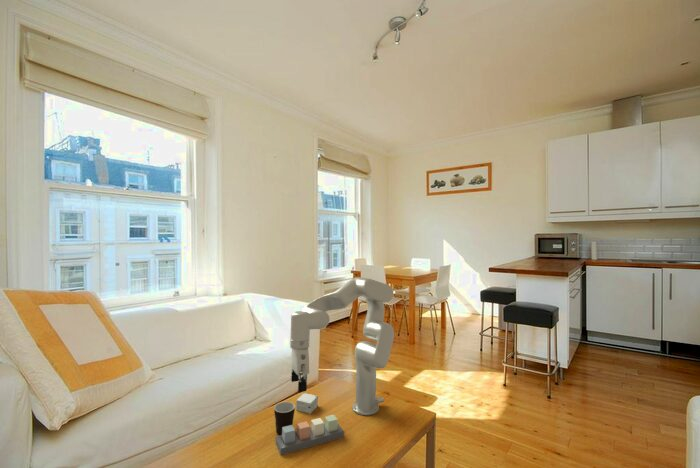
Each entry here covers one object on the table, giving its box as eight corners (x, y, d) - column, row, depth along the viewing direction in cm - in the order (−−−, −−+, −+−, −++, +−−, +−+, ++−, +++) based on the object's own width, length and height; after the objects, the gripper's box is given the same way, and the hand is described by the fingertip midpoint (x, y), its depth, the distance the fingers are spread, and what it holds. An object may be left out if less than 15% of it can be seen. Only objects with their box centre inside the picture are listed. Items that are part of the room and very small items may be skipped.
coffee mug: (289, 438, 129) (290, 413, 130) (269, 435, 131) (270, 410, 131) (300, 422, 141) (300, 399, 141) (281, 420, 142) (282, 397, 143)
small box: (295, 410, 151) (295, 399, 151) (303, 403, 158) (304, 392, 158) (310, 414, 148) (310, 403, 148) (318, 406, 155) (318, 395, 155)
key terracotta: (306, 432, 130) (306, 421, 130) (309, 437, 127) (309, 426, 127) (296, 434, 128) (297, 423, 128) (299, 440, 125) (300, 428, 125)
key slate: (291, 436, 127) (292, 424, 127) (294, 442, 124) (295, 430, 124) (281, 438, 126) (282, 427, 126) (284, 444, 122) (284, 432, 122)
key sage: (333, 425, 136) (333, 414, 136) (337, 430, 132) (337, 419, 132) (324, 427, 134) (324, 416, 134) (328, 432, 130) (328, 421, 130)
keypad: (335, 426, 138) (335, 420, 138) (343, 437, 131) (343, 431, 131) (275, 442, 126) (275, 436, 127) (280, 455, 119) (280, 448, 119)
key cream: (320, 428, 133) (320, 417, 133) (323, 434, 129) (324, 422, 129) (310, 431, 131) (311, 420, 131) (314, 436, 127) (314, 425, 128)
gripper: (315, 348, 123) (314, 394, 122) (302, 336, 138) (301, 376, 138) (296, 351, 119) (295, 397, 119) (285, 337, 135) (284, 379, 135)
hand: (298, 386), depth 128 cm, fingers open, 9 cm apart
